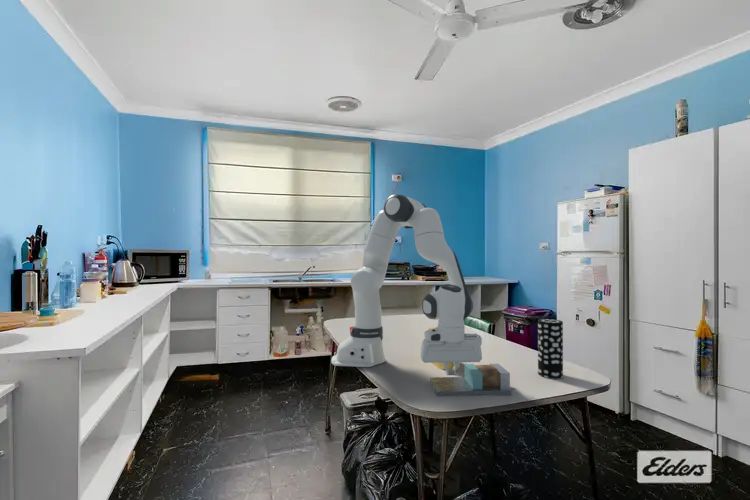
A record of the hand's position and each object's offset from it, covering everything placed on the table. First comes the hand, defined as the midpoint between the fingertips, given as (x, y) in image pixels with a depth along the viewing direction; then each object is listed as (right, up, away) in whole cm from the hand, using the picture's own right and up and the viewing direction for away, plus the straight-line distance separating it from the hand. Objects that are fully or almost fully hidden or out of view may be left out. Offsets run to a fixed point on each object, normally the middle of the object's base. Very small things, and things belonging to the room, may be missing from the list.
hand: (450, 374), depth 124 cm
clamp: (+2, -5, +28) cm, 29 cm away
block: (+12, -3, 0) cm, 12 cm away
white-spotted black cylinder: (+40, -5, +13) cm, 42 cm away
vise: (+6, -4, 0) cm, 7 cm away
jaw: (+7, -3, 0) cm, 8 cm away
